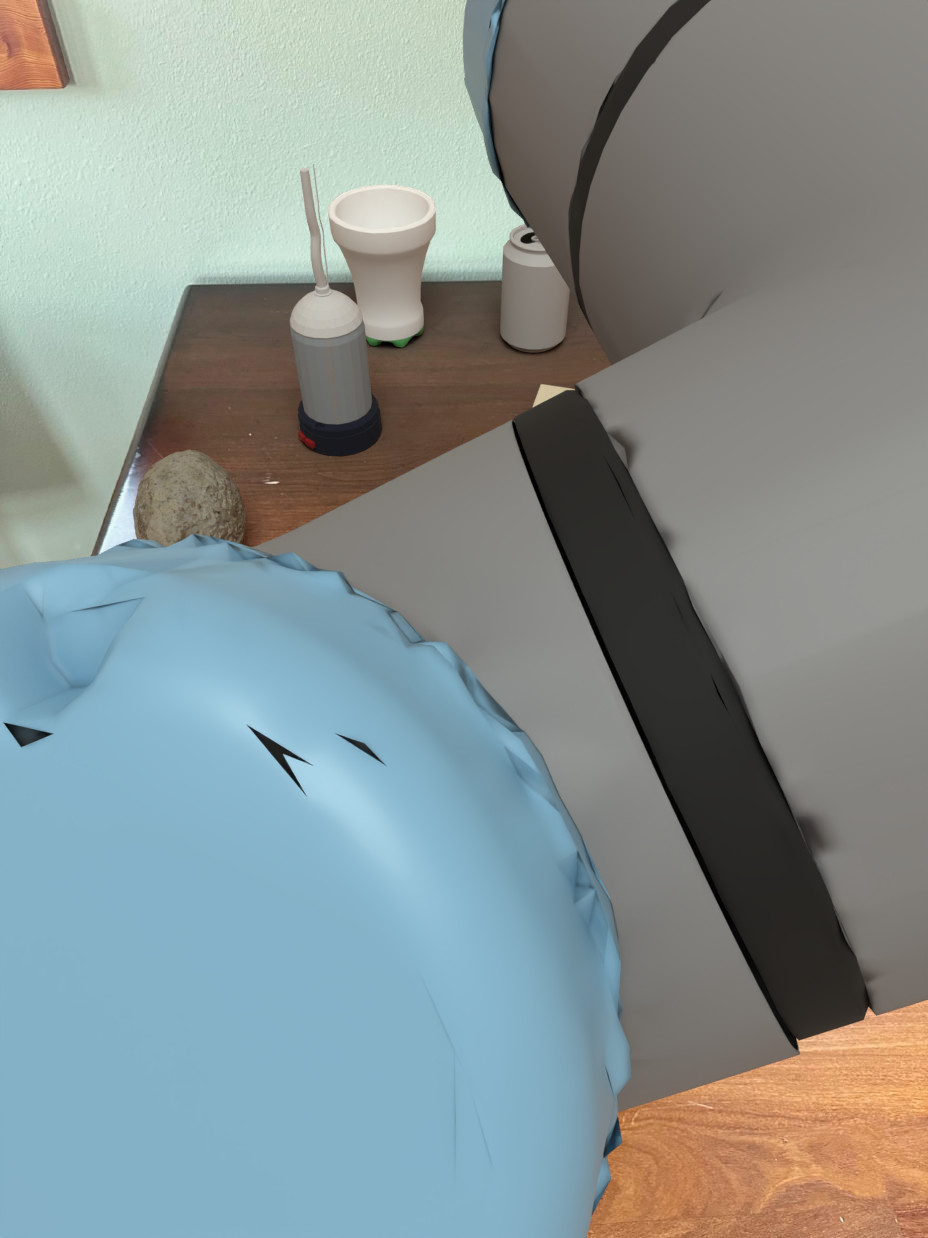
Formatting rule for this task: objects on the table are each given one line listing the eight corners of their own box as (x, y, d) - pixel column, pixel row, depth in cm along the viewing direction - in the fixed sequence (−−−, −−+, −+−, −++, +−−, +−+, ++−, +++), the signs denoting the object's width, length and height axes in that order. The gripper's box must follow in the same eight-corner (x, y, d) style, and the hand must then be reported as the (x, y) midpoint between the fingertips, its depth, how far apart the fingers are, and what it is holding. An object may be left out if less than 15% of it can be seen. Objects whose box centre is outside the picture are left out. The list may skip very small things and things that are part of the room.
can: (519, 315, 99) (524, 211, 90) (576, 332, 96) (587, 227, 87) (487, 344, 95) (490, 239, 86) (546, 363, 92) (555, 257, 83)
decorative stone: (242, 602, 69) (215, 512, 62) (141, 600, 69) (101, 510, 62) (265, 518, 76) (243, 428, 68) (173, 516, 76) (141, 425, 68)
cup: (361, 368, 92) (347, 239, 81) (330, 319, 98) (313, 194, 88) (455, 345, 95) (453, 218, 84) (418, 299, 101) (413, 176, 90)
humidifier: (288, 450, 82) (236, 185, 63) (316, 402, 88) (276, 144, 69) (367, 461, 81) (338, 195, 62) (391, 412, 86) (371, 153, 67)
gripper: (71, 771, 22) (347, 670, 45) (855, 975, 19) (728, 755, 41) (112, 493, 22) (371, 532, 44) (933, 653, 18) (761, 607, 41)
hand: (544, 640), depth 43 cm, fingers open, 7 cm apart
